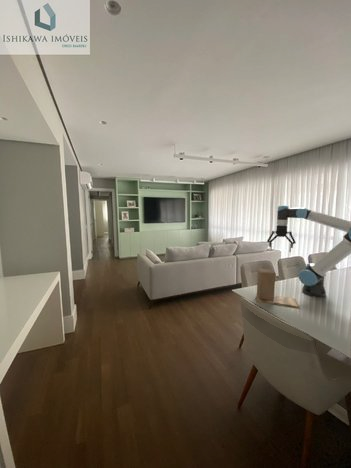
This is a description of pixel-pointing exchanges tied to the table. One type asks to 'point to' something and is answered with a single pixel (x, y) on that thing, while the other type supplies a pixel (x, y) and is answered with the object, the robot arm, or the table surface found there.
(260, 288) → the block
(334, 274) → the table surface
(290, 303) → the board
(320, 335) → the table surface
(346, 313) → the table surface
